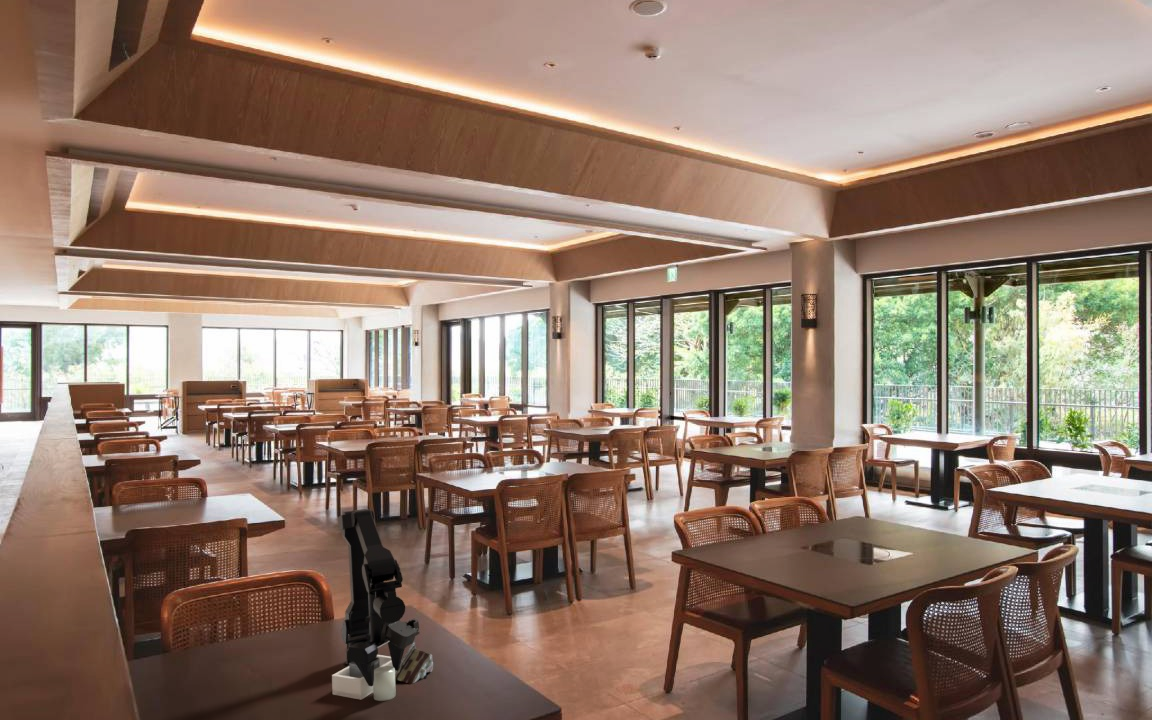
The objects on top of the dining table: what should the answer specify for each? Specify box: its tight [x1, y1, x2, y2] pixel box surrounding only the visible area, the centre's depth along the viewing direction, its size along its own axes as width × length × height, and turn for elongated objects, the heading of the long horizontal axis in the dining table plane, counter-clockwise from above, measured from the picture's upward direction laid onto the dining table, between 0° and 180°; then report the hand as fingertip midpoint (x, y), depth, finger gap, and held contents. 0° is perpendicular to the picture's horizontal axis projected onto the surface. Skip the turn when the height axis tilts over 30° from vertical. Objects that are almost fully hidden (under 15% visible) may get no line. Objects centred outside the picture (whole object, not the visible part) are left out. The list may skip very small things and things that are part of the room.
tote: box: [331, 654, 393, 700], centre depth 180 cm, size 8×14×4 cm, turn 156°
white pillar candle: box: [373, 666, 397, 702], centre depth 174 cm, size 5×5×6 cm
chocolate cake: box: [395, 640, 434, 685], centre depth 185 cm, size 10×7×12 cm
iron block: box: [349, 659, 380, 678], centre depth 180 cm, size 5×5×5 cm
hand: (383, 677), depth 174 cm, fingers open, 9 cm apart
